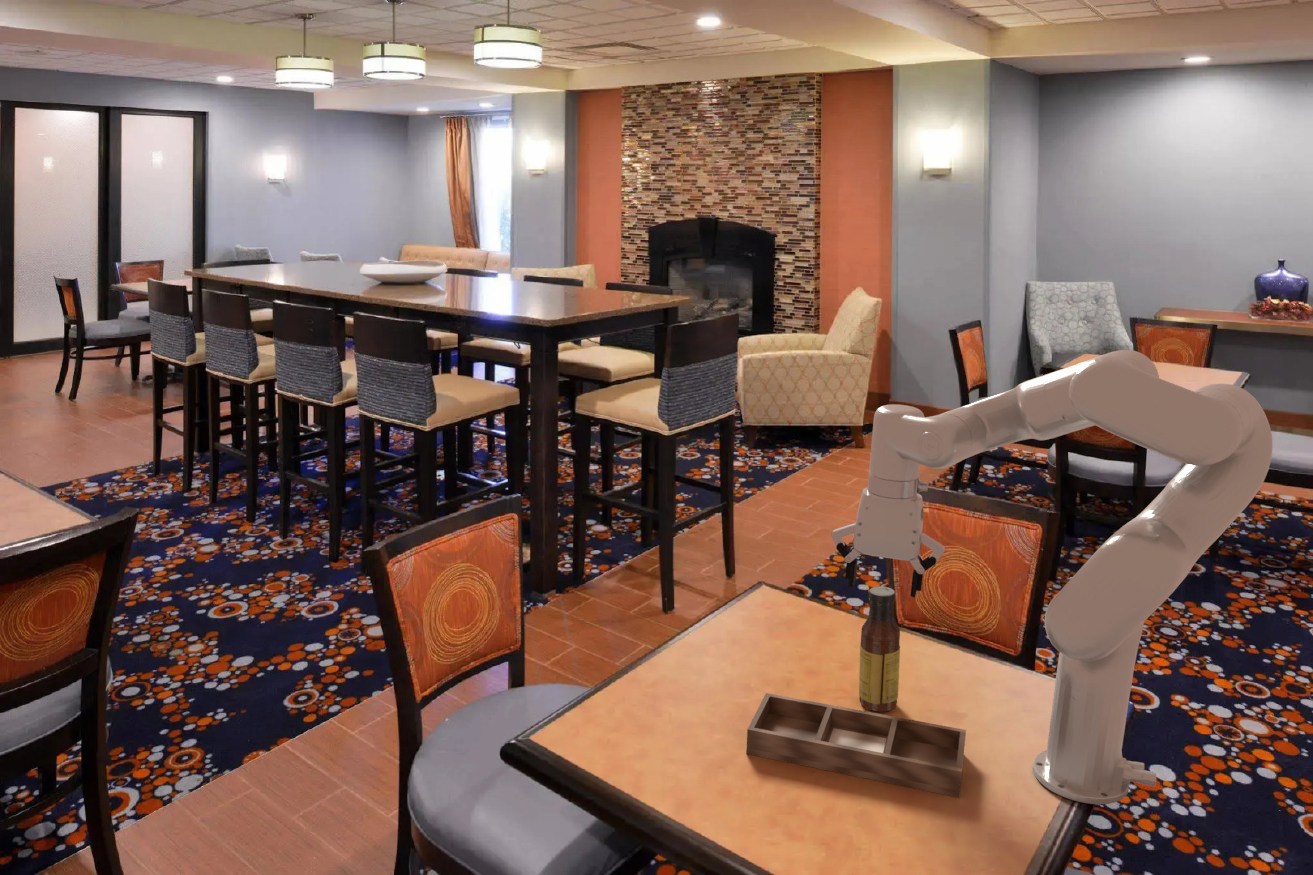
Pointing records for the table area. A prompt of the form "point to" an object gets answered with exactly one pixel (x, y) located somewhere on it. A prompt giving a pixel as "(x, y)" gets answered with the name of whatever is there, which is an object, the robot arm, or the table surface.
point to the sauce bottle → (879, 653)
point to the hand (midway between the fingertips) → (882, 588)
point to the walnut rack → (858, 743)
